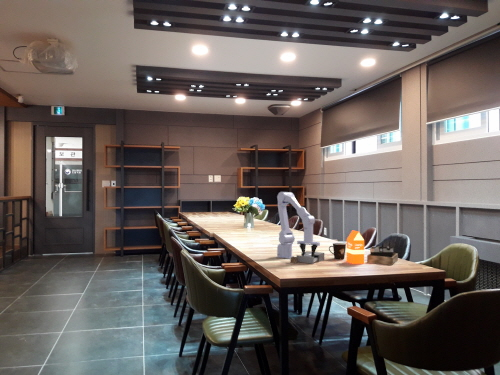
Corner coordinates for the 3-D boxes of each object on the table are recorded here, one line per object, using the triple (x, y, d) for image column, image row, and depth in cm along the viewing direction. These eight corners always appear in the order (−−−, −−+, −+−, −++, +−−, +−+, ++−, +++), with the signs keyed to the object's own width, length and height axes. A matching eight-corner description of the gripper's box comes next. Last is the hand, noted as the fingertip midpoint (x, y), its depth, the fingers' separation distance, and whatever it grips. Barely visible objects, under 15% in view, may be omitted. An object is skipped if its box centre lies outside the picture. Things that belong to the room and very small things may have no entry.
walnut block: (290, 262, 235) (290, 257, 235) (292, 262, 237) (292, 256, 238) (295, 263, 233) (295, 257, 233) (297, 262, 236) (297, 257, 236)
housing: (301, 259, 246) (301, 253, 246) (307, 257, 254) (307, 251, 254) (319, 261, 240) (319, 254, 240) (324, 259, 248) (324, 252, 248)
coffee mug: (344, 257, 256) (345, 243, 256) (346, 260, 247) (347, 244, 247) (327, 257, 257) (327, 242, 257) (328, 259, 248) (328, 244, 248)
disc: (302, 256, 239) (302, 254, 239) (305, 255, 244) (305, 253, 244) (310, 257, 236) (310, 255, 236) (313, 256, 241) (313, 254, 241)
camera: (388, 262, 249) (387, 246, 251) (395, 262, 238) (394, 246, 240) (366, 262, 248) (365, 246, 250) (372, 262, 237) (371, 246, 239)
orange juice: (352, 263, 234) (353, 231, 234) (346, 261, 242) (346, 230, 243) (364, 263, 235) (364, 231, 236) (357, 261, 244) (357, 230, 244)
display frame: (367, 262, 240) (367, 255, 240) (374, 258, 256) (374, 251, 256) (392, 265, 232) (392, 257, 232) (397, 260, 248) (397, 253, 248)
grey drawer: (296, 261, 238) (296, 255, 238) (302, 259, 246) (302, 253, 246) (313, 263, 232) (313, 257, 232) (319, 261, 241) (319, 254, 241)
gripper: (295, 234, 240) (295, 256, 240) (317, 236, 233) (316, 258, 233) (299, 233, 246) (299, 254, 246) (321, 235, 239) (320, 256, 239)
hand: (308, 256), depth 240 cm, fingers closed on disc, 5 cm apart
